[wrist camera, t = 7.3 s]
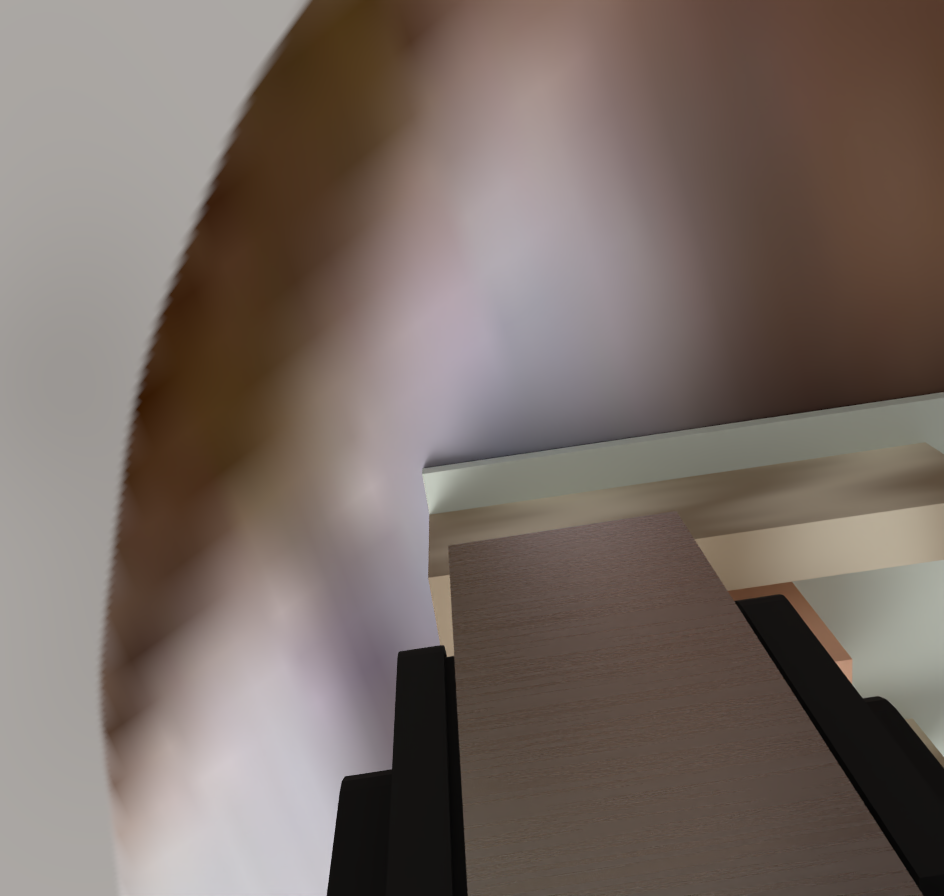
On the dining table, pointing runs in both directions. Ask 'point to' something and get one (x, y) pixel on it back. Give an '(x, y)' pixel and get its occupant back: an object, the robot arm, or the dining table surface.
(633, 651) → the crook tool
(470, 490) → the mat
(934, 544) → the frame
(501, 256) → the dining table surface
